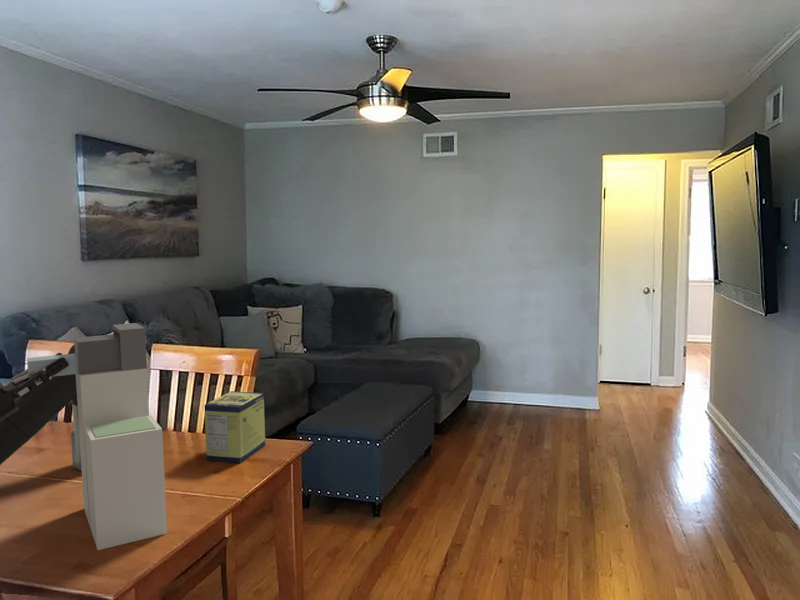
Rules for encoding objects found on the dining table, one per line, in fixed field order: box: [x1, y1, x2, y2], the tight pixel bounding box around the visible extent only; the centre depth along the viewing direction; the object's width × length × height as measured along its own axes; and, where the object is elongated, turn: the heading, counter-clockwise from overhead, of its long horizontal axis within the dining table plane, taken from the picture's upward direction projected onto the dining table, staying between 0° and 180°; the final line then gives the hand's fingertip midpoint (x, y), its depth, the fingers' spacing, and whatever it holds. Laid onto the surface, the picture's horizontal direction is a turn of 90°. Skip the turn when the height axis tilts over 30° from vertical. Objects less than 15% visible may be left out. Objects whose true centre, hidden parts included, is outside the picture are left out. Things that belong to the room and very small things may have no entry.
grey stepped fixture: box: [76, 322, 168, 551], centre depth 136 cm, size 13×22×41 cm, turn 32°
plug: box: [26, 334, 122, 378], centre depth 136 cm, size 19×7×7 cm, turn 122°
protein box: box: [203, 390, 266, 464], centre depth 179 cm, size 10×16×16 cm
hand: (64, 358), depth 135 cm, fingers open, 5 cm apart
